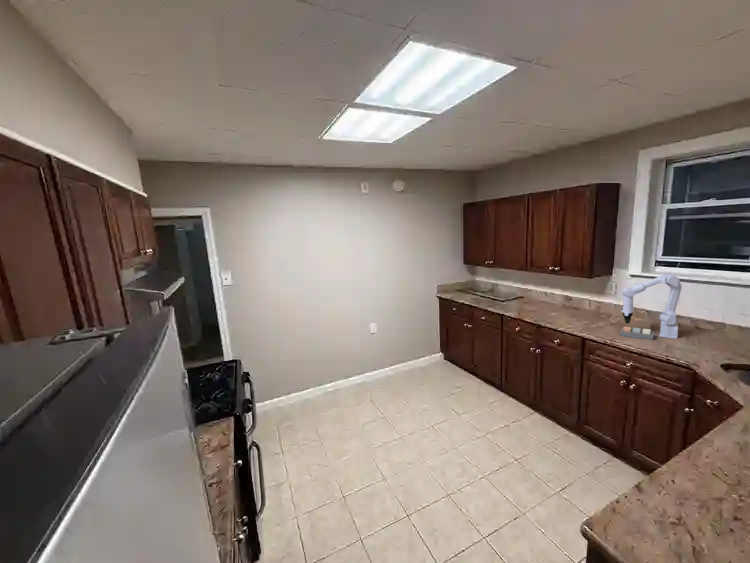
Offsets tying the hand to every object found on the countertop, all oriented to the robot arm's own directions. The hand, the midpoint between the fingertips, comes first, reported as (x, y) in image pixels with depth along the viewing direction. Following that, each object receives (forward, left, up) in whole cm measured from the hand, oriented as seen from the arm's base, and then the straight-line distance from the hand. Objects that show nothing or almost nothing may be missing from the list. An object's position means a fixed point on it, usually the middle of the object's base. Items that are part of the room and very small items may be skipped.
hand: (627, 323), depth 239 cm
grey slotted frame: (-5, 0, -9) cm, 10 cm away
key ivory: (-11, 0, -7) cm, 13 cm away
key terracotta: (0, 0, -7) cm, 7 cm away
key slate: (-6, 0, -7) cm, 9 cm away
